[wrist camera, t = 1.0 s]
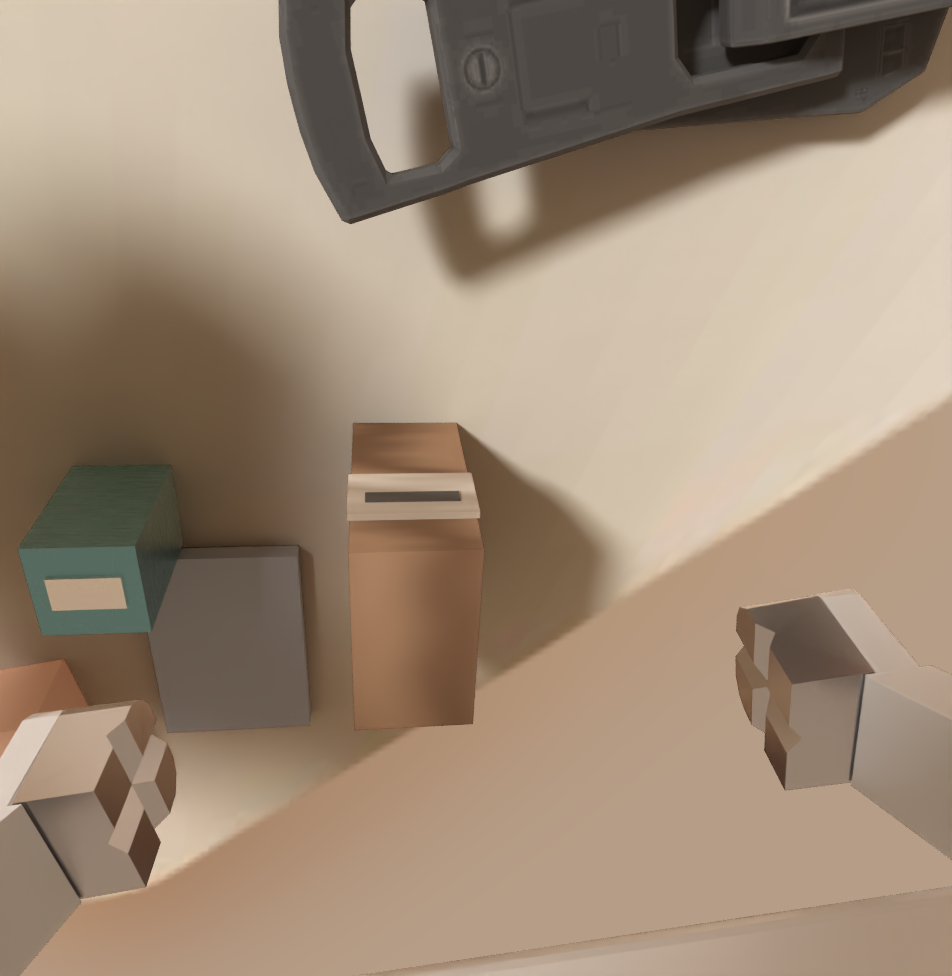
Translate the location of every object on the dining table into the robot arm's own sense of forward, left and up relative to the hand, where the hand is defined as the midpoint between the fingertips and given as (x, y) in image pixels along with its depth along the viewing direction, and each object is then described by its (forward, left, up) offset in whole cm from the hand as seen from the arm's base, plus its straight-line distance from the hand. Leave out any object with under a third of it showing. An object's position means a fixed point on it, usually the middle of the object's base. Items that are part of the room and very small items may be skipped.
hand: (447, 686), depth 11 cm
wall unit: (+1, -13, -27) cm, 30 cm away
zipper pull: (+9, +8, -28) cm, 30 cm away
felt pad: (-9, -22, -27) cm, 36 cm away
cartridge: (-13, -13, -27) cm, 33 cm away
